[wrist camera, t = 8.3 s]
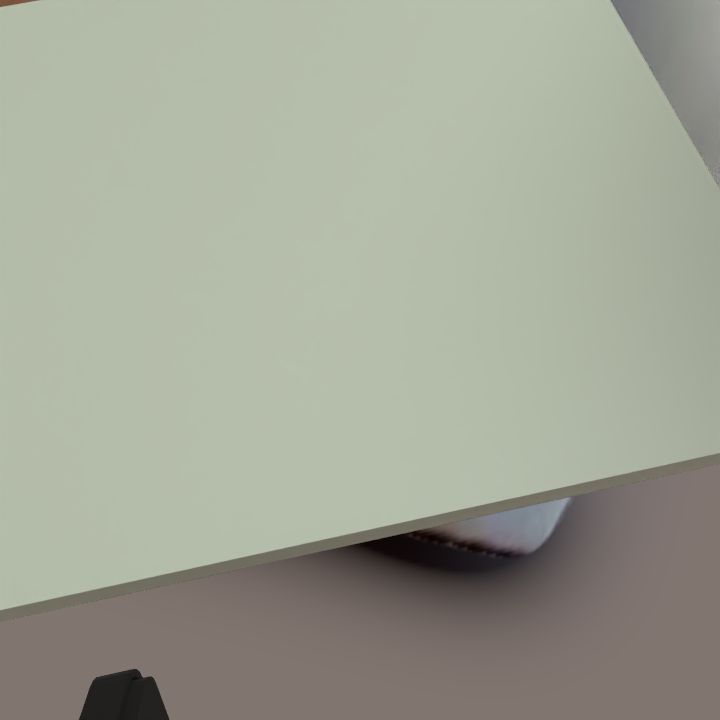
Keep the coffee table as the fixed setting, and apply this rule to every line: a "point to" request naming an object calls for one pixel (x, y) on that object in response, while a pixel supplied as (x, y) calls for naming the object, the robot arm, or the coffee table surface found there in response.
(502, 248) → the lid
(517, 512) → the coffee table surface
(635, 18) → the coffee table surface
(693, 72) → the coffee table surface
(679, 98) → the coffee table surface
